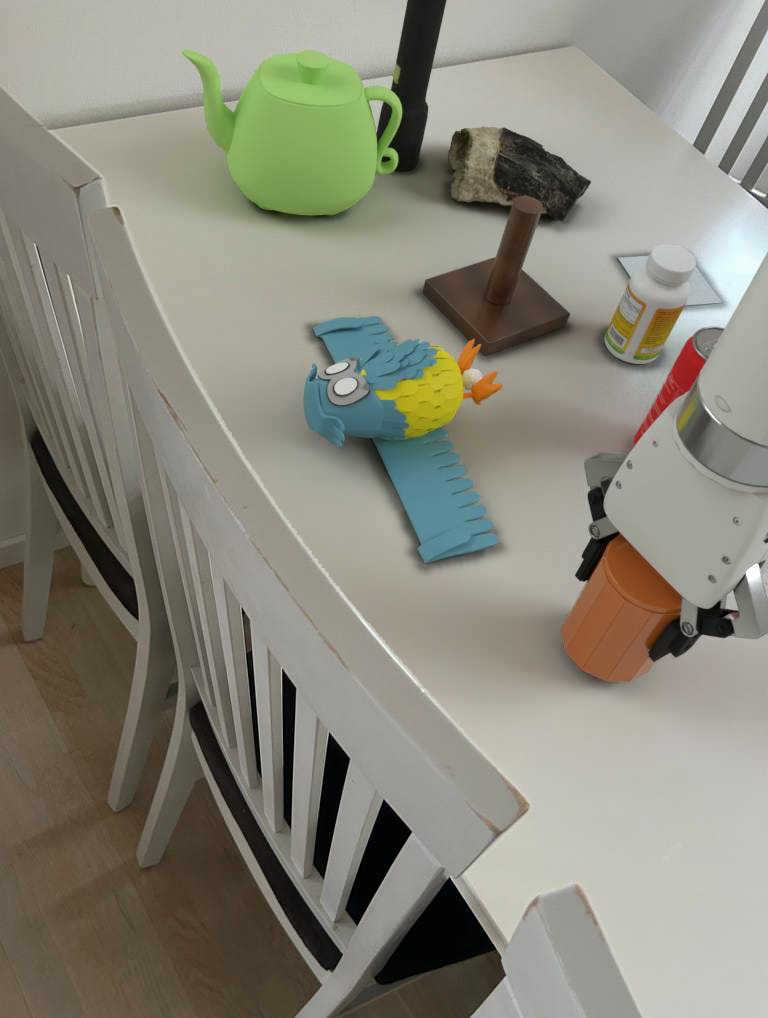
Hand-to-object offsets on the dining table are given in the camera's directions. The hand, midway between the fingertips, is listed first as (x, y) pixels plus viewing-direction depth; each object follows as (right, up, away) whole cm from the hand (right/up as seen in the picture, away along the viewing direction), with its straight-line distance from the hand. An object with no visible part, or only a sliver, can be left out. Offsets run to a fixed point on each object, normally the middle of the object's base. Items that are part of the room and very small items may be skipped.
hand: (629, 609), depth 69 cm
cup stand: (-4, +30, +26) cm, 40 cm away
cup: (0, -2, +4) cm, 4 cm away
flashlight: (-12, +50, +39) cm, 65 cm away
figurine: (+15, +34, +32) cm, 49 cm away
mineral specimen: (+1, +46, +38) cm, 60 cm away
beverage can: (+8, +14, +17) cm, 23 cm away
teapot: (-24, +45, +34) cm, 61 cm away
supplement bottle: (+9, +26, +25) cm, 37 cm away
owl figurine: (-15, +15, +15) cm, 27 cm away
